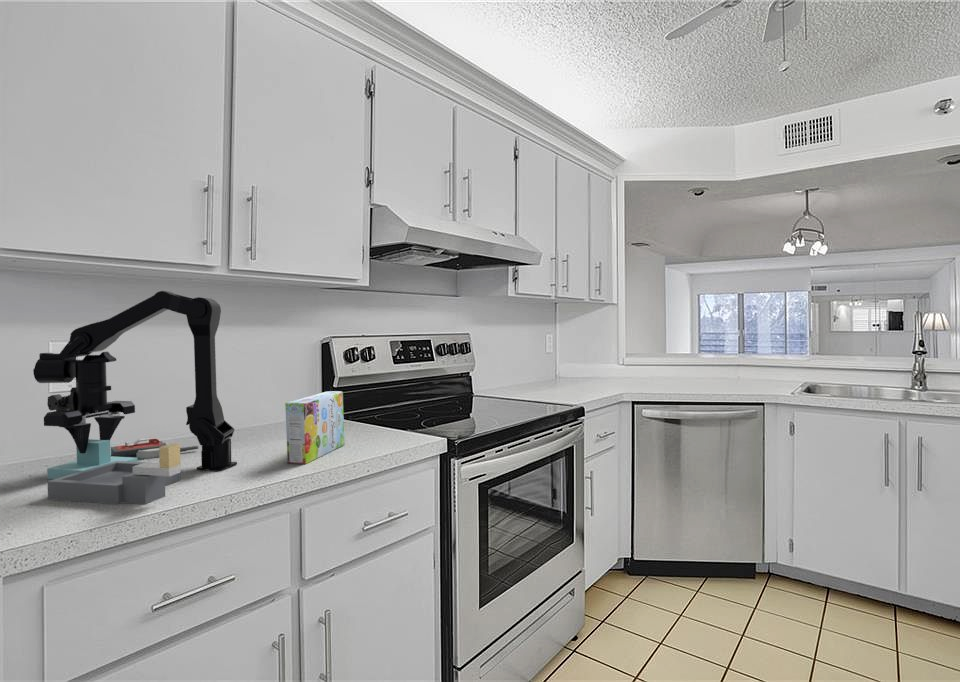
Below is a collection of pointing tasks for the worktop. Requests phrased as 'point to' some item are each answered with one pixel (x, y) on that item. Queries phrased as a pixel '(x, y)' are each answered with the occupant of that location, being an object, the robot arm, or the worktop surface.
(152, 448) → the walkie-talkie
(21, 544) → the worktop surface
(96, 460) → the cover
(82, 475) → the tray
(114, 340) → the robot arm
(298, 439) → the snack box
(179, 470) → the white yellow l-shaped block
